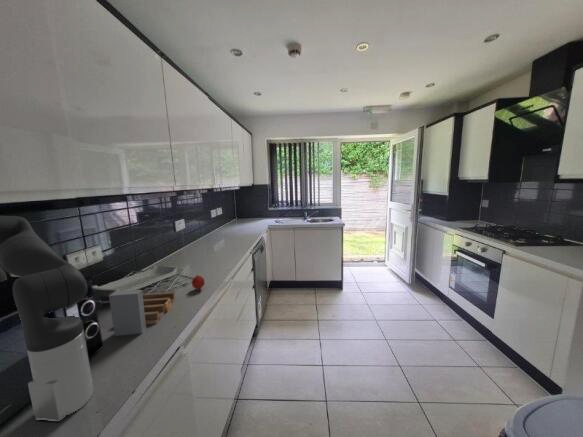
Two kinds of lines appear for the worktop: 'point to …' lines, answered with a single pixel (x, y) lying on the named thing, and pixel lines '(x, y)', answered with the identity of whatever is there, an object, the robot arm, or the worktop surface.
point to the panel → (127, 312)
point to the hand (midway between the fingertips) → (92, 310)
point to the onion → (198, 282)
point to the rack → (157, 305)
